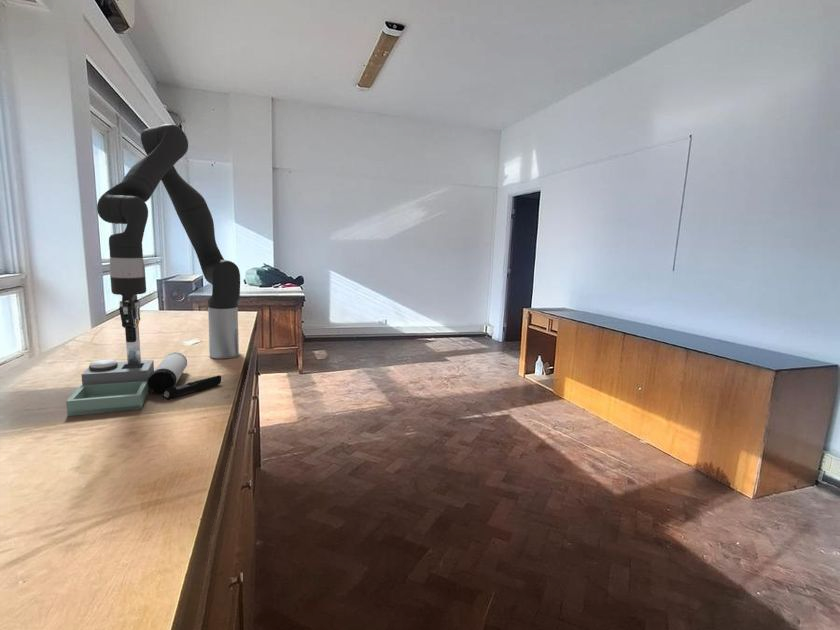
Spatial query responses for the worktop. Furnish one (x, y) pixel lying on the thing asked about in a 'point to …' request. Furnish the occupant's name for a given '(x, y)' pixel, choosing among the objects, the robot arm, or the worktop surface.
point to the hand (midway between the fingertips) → (132, 339)
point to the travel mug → (167, 372)
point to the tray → (107, 398)
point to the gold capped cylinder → (134, 350)
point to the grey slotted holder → (116, 372)
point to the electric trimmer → (191, 387)
